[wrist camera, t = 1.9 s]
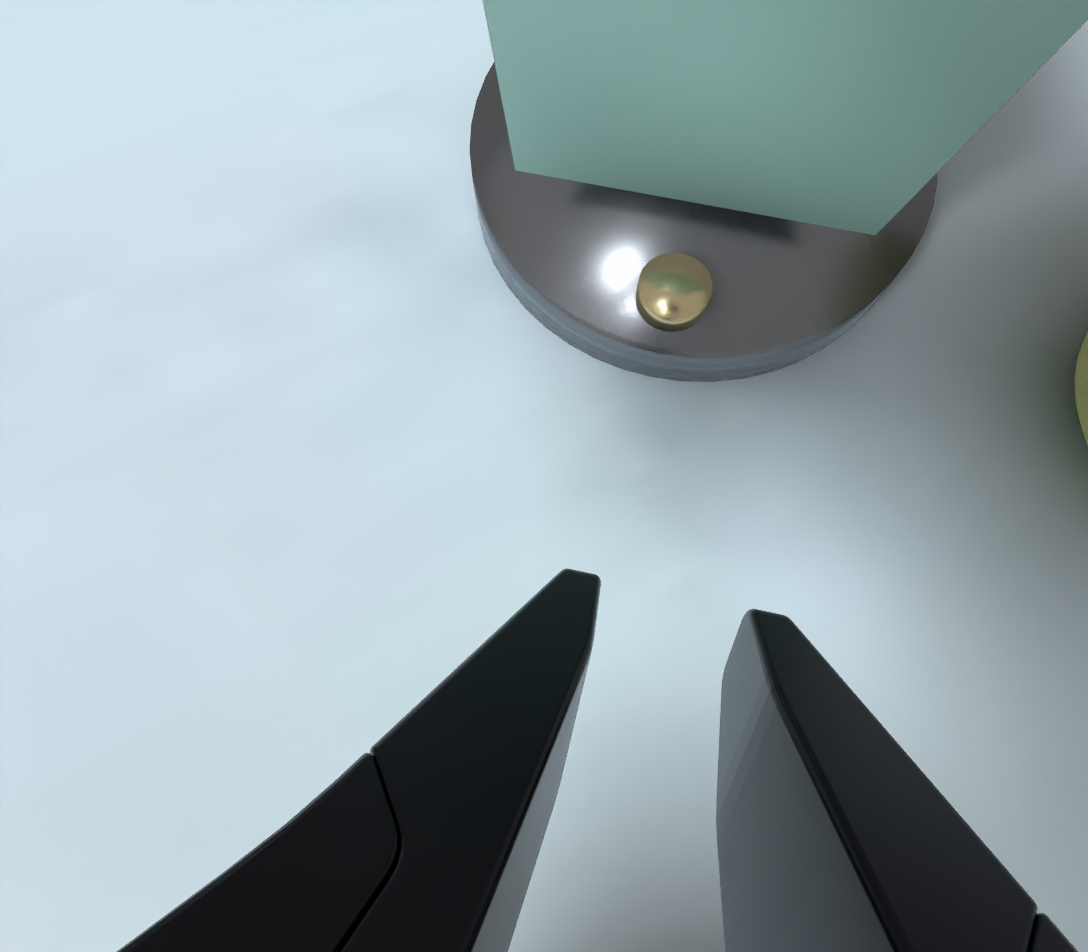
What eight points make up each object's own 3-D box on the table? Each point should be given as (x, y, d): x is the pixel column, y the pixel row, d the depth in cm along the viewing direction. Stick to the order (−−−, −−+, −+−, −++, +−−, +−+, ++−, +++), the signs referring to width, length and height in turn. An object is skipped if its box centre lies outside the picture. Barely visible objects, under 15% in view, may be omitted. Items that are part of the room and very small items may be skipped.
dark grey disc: (885, 422, 22) (932, 385, 19) (428, 332, 23) (412, 285, 20) (922, 51, 26) (966, -24, 23) (528, -14, 27) (526, -93, 24)
